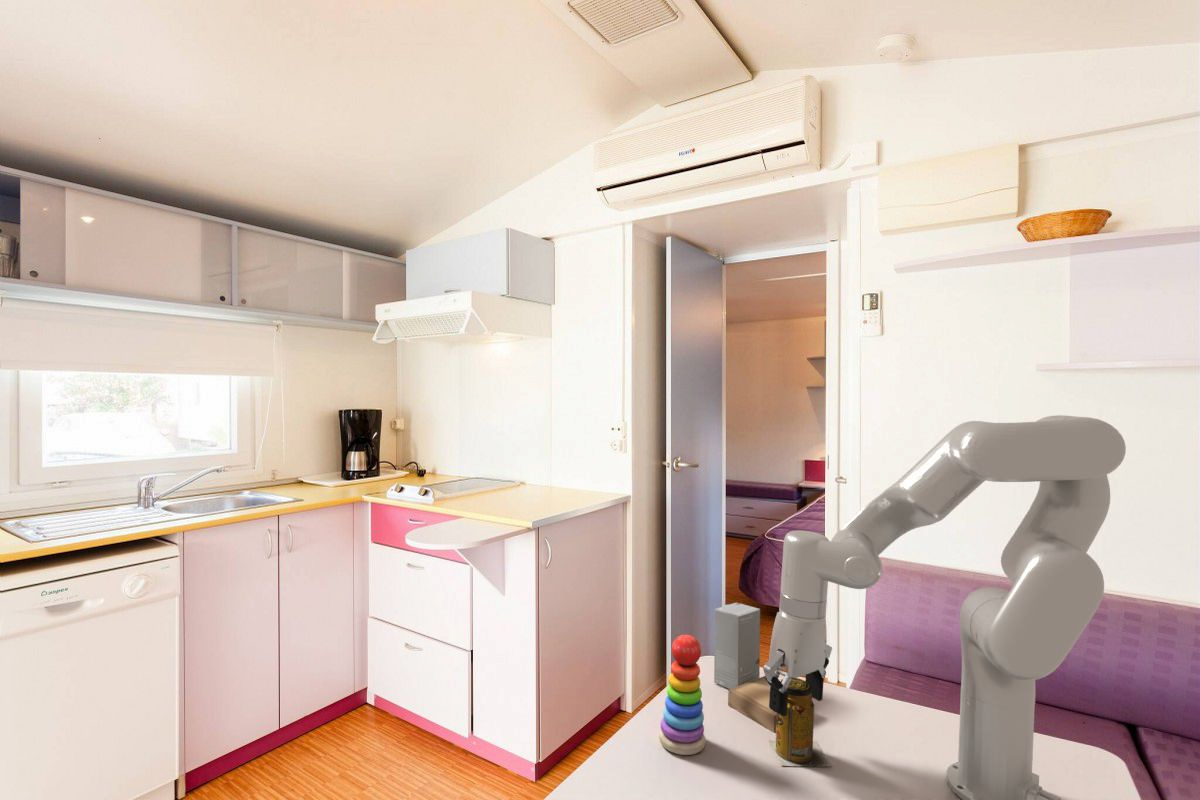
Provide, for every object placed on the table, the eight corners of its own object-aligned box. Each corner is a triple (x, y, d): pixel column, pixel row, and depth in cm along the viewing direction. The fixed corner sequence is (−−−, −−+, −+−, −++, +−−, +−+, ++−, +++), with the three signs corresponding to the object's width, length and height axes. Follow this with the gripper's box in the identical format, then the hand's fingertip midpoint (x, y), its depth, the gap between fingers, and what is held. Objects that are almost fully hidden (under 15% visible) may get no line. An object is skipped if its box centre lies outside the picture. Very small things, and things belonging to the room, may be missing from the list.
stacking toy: (704, 761, 98) (708, 648, 98) (656, 753, 100) (660, 643, 99) (705, 734, 106) (709, 630, 106) (661, 728, 107) (664, 625, 107)
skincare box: (738, 695, 120) (741, 617, 120) (710, 682, 125) (712, 607, 125) (761, 682, 126) (764, 608, 125) (733, 670, 131) (735, 599, 131)
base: (810, 714, 113) (811, 698, 113) (773, 732, 107) (774, 715, 107) (764, 690, 122) (765, 675, 122) (727, 705, 116) (728, 689, 116)
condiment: (768, 740, 104) (770, 673, 104) (816, 742, 104) (818, 674, 104) (780, 766, 97) (783, 694, 97) (832, 768, 97) (834, 696, 97)
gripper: (814, 590, 109) (807, 682, 109) (751, 606, 99) (744, 707, 99) (851, 604, 103) (845, 701, 103) (789, 622, 92) (782, 730, 93)
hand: (796, 704), depth 101 cm, fingers open, 9 cm apart
